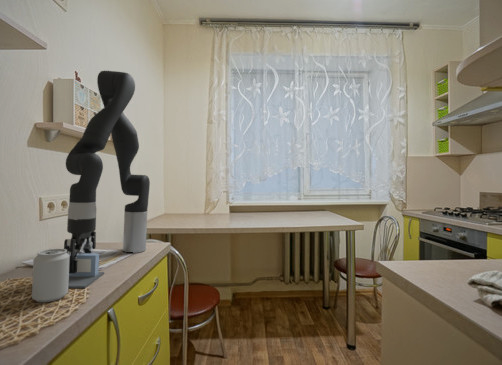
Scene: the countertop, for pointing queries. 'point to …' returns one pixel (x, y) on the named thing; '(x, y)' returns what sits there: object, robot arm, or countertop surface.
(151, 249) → the countertop surface
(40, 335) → the countertop surface
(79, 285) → the mat
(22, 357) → the countertop surface
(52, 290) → the can
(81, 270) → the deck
